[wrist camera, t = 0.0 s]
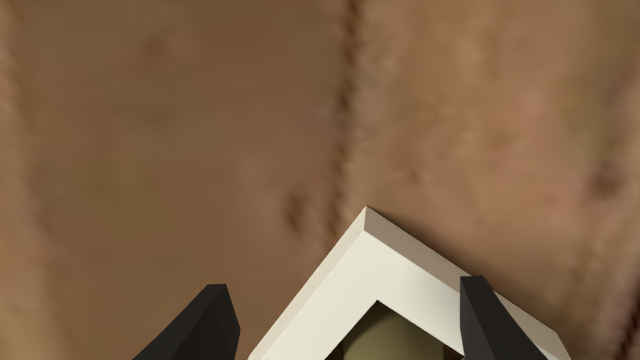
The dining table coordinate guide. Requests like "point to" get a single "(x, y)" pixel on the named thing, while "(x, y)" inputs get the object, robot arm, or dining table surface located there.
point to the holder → (381, 295)
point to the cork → (389, 338)
